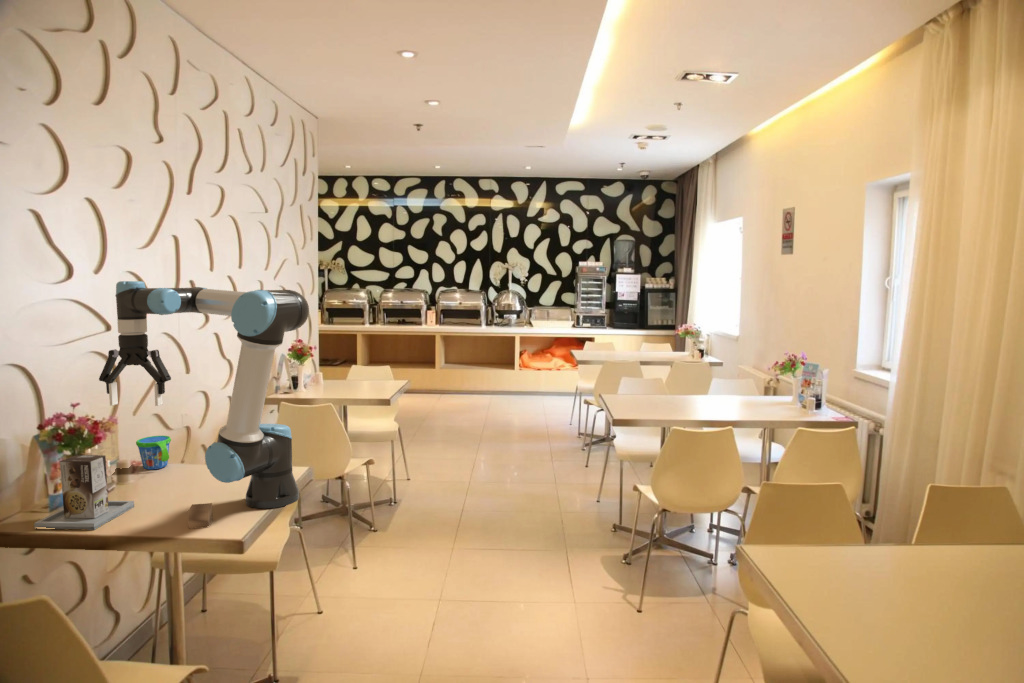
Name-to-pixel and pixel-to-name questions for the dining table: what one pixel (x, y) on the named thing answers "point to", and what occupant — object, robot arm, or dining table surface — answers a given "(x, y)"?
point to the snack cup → (154, 451)
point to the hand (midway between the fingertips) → (136, 405)
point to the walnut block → (200, 515)
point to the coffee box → (84, 486)
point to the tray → (60, 522)
